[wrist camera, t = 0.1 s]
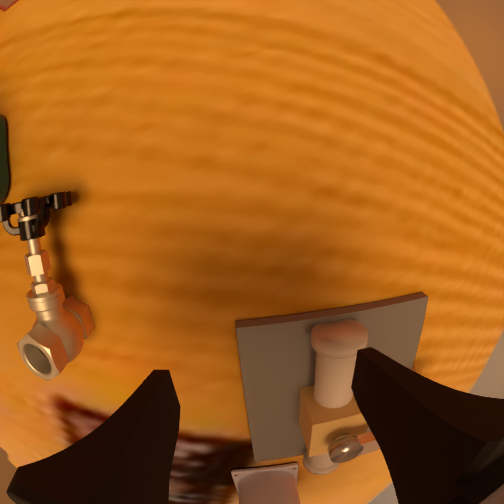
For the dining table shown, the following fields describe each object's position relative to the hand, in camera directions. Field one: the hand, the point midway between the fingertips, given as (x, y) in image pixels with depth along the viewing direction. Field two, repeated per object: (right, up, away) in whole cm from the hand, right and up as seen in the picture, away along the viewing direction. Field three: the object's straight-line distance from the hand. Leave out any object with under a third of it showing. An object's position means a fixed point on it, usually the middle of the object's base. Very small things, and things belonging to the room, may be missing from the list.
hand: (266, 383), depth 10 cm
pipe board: (+6, -8, +13) cm, 16 cm away
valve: (-15, +3, +9) cm, 18 cm away
